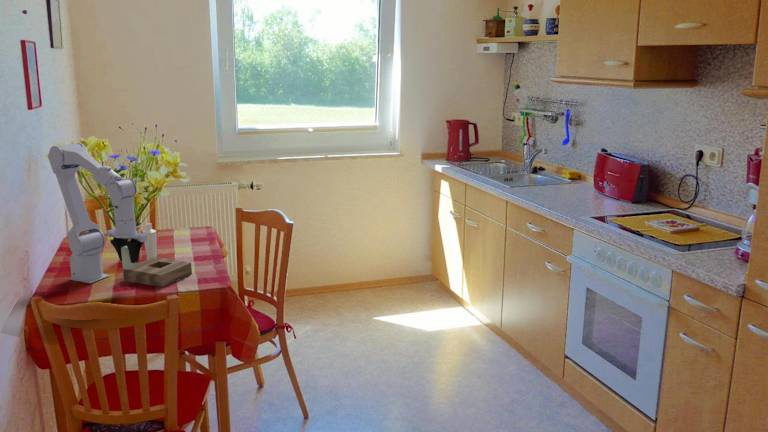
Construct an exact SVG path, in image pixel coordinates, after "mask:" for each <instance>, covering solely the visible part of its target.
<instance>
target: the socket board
mask: <svg viewBox="0 0 768 432" xmlns="http://www.w3.org/2000/svg"><path fill="white" fill-rule="evenodd" d="M136 265H137V267H136V268H133V269H123V268H122V273H123V274H122V275H123V276H122V277H123V281H126V282H132V283H135V284H136V283H138V284H142V285H148V286H155V287H158V288H159V287H160V288H164V287H166V286H169V285H170V284H173V283H175V282H177V281H179V280H182V279H184V278H187V277H189V276H190V275H192V274H193V271H192V262H190V261H184V260H183V261H182V260H177V259H170V258H165V257H158V256H157V257H152V258H149V259H147V258H146V259H144V260H141V261H138V262H136Z"/></svg>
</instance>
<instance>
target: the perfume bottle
mask: <svg viewBox="0 0 768 432" xmlns="http://www.w3.org/2000/svg"><path fill="white" fill-rule="evenodd" d="M142 234H146V235H147V241H145V242H144V248H145V255H146V260H147V259H149V258H152V257H158V255H157V252H158V251H157V249H158V248H157V243H158V242H157V241H158V240H157V239H158V237H157V230H155V229H153V226H152V223H151V222H147V223H145V229H144V230H143V231H142Z"/></svg>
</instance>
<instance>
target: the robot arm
mask: <svg viewBox="0 0 768 432" xmlns="http://www.w3.org/2000/svg"><path fill="white" fill-rule="evenodd" d="M47 158H48V161H49V164H50V167H51V170H52V173H53V174H55V177H56V180H57V182H58V186H59V189H60V191H61V194H62V197H63V200H64V203H65V206H66V209H67V212H68V215H69V218H70V220H71V221H70V222H71V224H72V226H71V228H70V229H69V230H68V232H67V234H66V235H67V237H68V247H69V249H70V251H71V253H72V254H71V255H70V258H69V265H70V267H69V268H70V274H71V277H69V280H70V281H76V282H81V283H86V284H93V283H95V282H98V281H100V280H101V281H102V280H103V279H106V278H108V277H110V274H108V273H104V271H103V262H102V261H103V260H102V251H103V248H105V247H104V246H105V245H106V242H107V241H106V236H107V238H112V239H110V243H111V245H112V246H113V247H114V249H115V252H116V253H117V256H118V258H119V261H120V262H122V255H121V247H123V246H127V247H128V250H129V254H130V260H131V263H135V262H136V263H139V258H140V257H139V255H140V253H141V248H142V247H143V244H145V241H147V235H146V234H143V232H139V231H137V225H136V217H135V216H136V215H135V204H134V197H135V196H136V194H137V191H138V187H137V185H136V183H135V181H134V180H133V179H132V178H129V177H128V178H125V177H122V176H121V175H120V174H118V173H117V172H116V171H114V170H113V169H112V167H111V166H110V165H109V166H107V165H103V166H102V165H101V164H100V163H99V162H98V161H97V160H96V159H95V158H94V157H92V155H91V154H89V149H88V147H86V145H84V144H83V143H81V142H76V143H71V144H63V145H52V146H51V147H50V148H49V151H48V154H47ZM81 167H82V168H83V169H84V170H85V171H88V172H89V173H91V174H93V179H94V181H95V182H96V183H98V184H99V185H100V186H101V187H103V189H105V190H106V191H107V194H108V195H107V196H108V197H109V199H110V202H111V206H113V214H114V223H115V224H114V225H115V229H109V230H106V235H105V234H104V233H103V232H102V230H101V228H100V225H99V224H97V223H95V222H93V221H91V219H90V216H89V212H88V211H87V206H86V203H85V202H84V198H83V196H82V193H81V190H80V187H79V183H78V181H77V178H76V173H77V171H78V170H80V169H81Z"/></svg>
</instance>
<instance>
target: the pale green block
mask: <svg viewBox="0 0 768 432" xmlns="http://www.w3.org/2000/svg"><path fill="white" fill-rule="evenodd" d="M121 255H122V261H121V263H122V264H121V265H122V270H123V269H133V268H136V267H137V265H136V263H137V262H135V263H131V260H130V254H129V250H128V247H127V246H123V247H121Z"/></svg>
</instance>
